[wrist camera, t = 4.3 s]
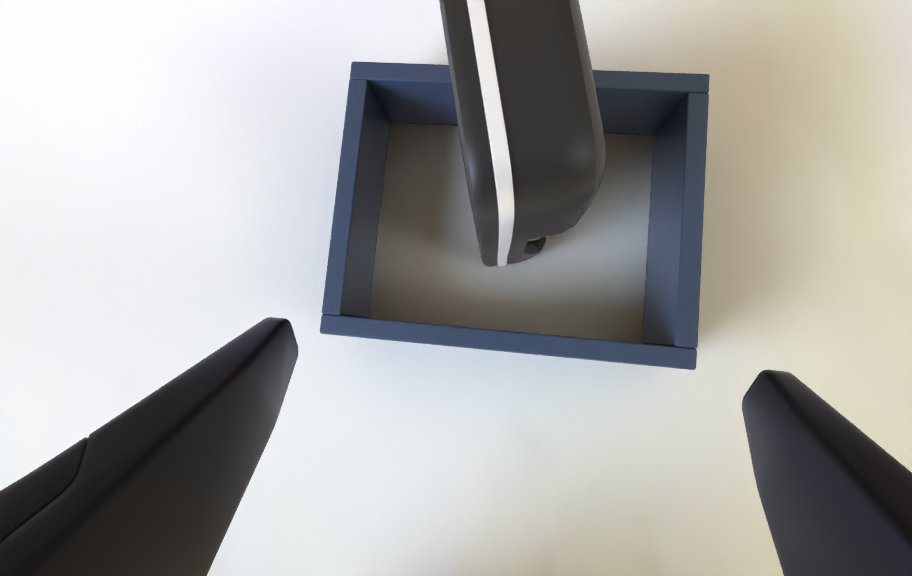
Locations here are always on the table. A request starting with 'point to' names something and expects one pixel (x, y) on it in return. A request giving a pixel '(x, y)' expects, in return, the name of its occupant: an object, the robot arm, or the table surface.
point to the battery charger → (524, 119)
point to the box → (622, 111)
